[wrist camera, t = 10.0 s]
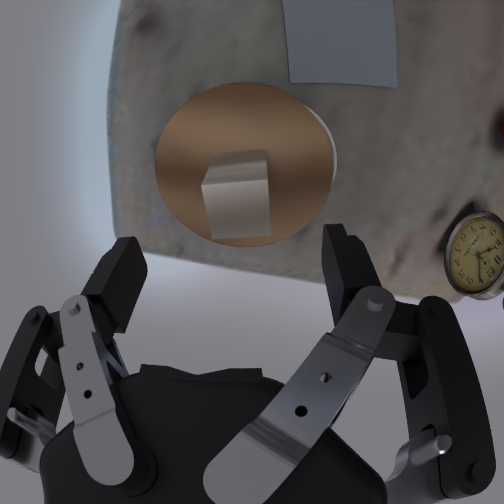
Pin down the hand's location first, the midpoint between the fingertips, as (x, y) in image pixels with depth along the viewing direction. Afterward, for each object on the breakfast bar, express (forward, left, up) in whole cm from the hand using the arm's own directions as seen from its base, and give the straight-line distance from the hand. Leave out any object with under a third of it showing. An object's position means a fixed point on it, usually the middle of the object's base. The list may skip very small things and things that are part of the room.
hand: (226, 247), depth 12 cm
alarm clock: (+13, +29, -19) cm, 37 cm away
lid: (0, 0, -9) cm, 9 cm away
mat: (-10, +10, -19) cm, 24 cm away
